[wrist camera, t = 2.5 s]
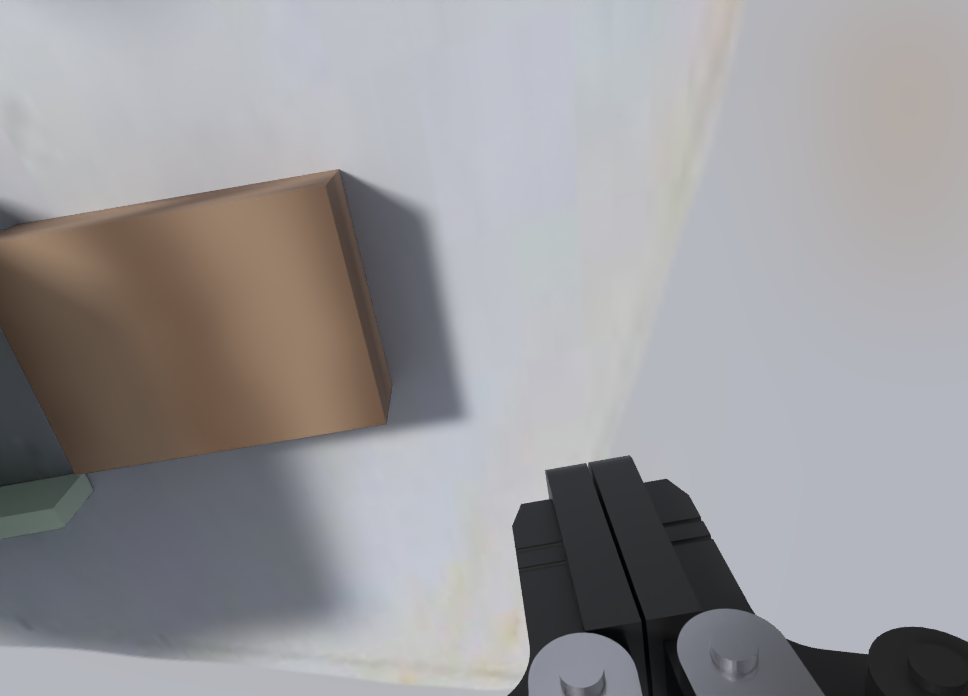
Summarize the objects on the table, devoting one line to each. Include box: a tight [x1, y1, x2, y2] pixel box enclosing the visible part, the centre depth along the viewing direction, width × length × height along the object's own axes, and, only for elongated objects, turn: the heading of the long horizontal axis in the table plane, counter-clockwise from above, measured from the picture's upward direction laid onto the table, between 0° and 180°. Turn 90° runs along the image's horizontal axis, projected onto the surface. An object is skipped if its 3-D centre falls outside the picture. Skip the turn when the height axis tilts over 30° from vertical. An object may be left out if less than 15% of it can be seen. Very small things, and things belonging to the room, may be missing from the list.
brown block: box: [0, 169, 392, 475], centre depth 25 cm, size 12×9×4 cm
